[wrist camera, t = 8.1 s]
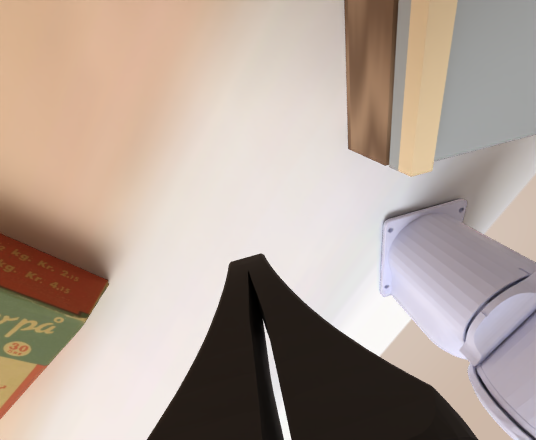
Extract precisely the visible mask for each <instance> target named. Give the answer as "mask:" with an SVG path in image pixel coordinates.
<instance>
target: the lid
mask: <svg viewBox="0 0 536 440" xmlns="http://www.w3.org/2000/svg"><path fill="white" fill-rule="evenodd" d="M532 135H536V0H399V3H398V21H397V38H396V55H395V73H394V90H393V107H392V125H391V142H390V159H389V167H390V168H393V169H395V170H397V171H399V172H401V173H404V174H406V175H408V176H410V177H412V176H416V175H419V174H423V173H427V172H430V171H432V170H433V163H434V161H438V160H442V159H445V158H449V157H453V156H457V155H460V154H464V153H468V152H472V151H476V150H479V149H483V148H487V147H491V146H494V145H498V144H502V143H506V142H510V141H513V140H517V139H521V138H525V137H528V136H532Z"/></svg>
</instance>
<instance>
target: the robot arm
mask: <svg viewBox="0 0 536 440" xmlns="http://www.w3.org/2000/svg"><path fill="white" fill-rule="evenodd" d="M466 206H467V201H466V200H464V199H458V200H454V201H451V202H447V203H443V204H440V205H436V206H433V207H429V208H426V209H422V210H419V211H415V212H411V213H408V214H404V215H401V216H397V217H394V218H390V219H388V220H386V221H385V222H384V225H383V244H382V263H381V282H380V294H381V295H382V296H383V297H386V296H389V295H392V296H393V298H394V299H395V300H396V301H397V302H398V303H399V304H400V306H401V307H402V308H403V309H404V310H405V311H406V312H407V314H408V315H409V316H410V317H411V318H412V319H413V321H414V322H415V323H416V324H417V325H418V326H419V327H420V328H421V330H422V331H423V332H424V333H425V334H426V335H427V337H428V338H429V339H430V340H431V341H432V342H433V343H434V344H436V345H437V346H438V347H440V348H441V349H443V350H444V351H446V352H448V353H450V354H452V355H454V356H456V357H459V358H462V359H466V360H468V361H469V362H470V363H471V364H470V365H469V367H468V376H469V379H470V382H471V384H472V386H473V389H474V391H475V393H476V395H477V397H478V399H479V400H480V402H481V403H482V405H483V406H484V408H485V409H486V410H487V412H488V413H489V414H490V415H491V417H492V418H493V419H494V420H495V421H496V422H497V423H498V425H499V426H500V427H501V428H502V429H503V430H504V431H505V432H506V433H507V434H508V435H510V437H511V438H512V439H514V440H536V262H534V261H532V260H530V259H528V258H527V257H525V256H523V255H521V254H519V253H517V252H515V251H514V250H512V249H510V248H508V247H506V246H504V245H502V244H500V243H499V242H497V241H495V240H493V239H491V238H490V237H488V236H486V235H484V234H482V233H480V232H478V231H477V230H475V229H473V228H471V227H469V226H467V225H465V224H464V223H463V219H464V215H465V211H466ZM389 228H390V230H389ZM263 321H264V324H265V327H266V330H267V332H268V335H269V338H270V342H271V346H272V351H273V355H274V360H275V364H276V369H277V374H278V378H279V383H280V387H281V392H282V397H283V401H284V406H285V411H286V416H287V420H288V425H289V430H290V435H291V439H292V440H478V439H477V437H476V436H475V435H474V433H473V432H472V431H471V429H470V428H469V427H468V425H467V424H466V423H465V422H464V420H463V419H462V418H461V417H460V416H459V414H458V413H457V412H456V411H455V410H454V409H453V408H452V407H451V406H450V404H449V403H448V402H447V401H446V400H445V399H444V398H443V397H442V396H441V395H440V394H439V393H438V392H437V391H436V390H435V389H434V388H433V387H432V386H431V385H429V384H427V383H425V382H423V381H421V380H419V379H418V378H416V377H414V376H412V375H410V374H408V373H406V372H405V371H403V370H401V369H399V368H398V367H396V366H394V365H392V364H390V363H389V362H387V361H385V360H384V359H382V358H381V357H379V356H377V355H376V354H374V353H372V352H371V351H369V350H367V349H366V348H364V347H363V346H361V345H360V344H358V343H357V342H355V341H354V340H352V339H351V338H349V337H348V336H346V335H345V334H344V333H342V332H341V331H339V330H338V329H336V328H335V327H334V326H332V325H331V324H330V323H328V322H327V321H326V320H324V319H323V318H322V317H321V316H320V315H318V314H317V313H316V312H315V311H313V310H312V309H311V308H310V307H309V306H308V305H307V304H305V303H304V302H303V301H302V300H301V299H300V298H299V297H298V296H297V295H296V294H295V293H294V292H293V291H292V290H291V289H290V288H289V287H288V286H287V285H286V284H285V283H284V281H283V280H282V279H281V278H280V277H279V276H278V275H277V273H276V272H275V271H274V270H273V268H272V267H271V266H270V264H269V263H268V261H267V259H266V258H265V256H264V255H263V254H257V255H254V256H250V257H247V258H243V259H240V260H236V261H233V262H231V263H230V264H229V268H228V273H227V278H226V282H225V285H224V289H223V292H222V295H221V298H220V302H219V305H218V308H217V310H216V313H215V315H214V318H213V321H212V323H211V326H210V328H209V331H208V333H207V335H206V337H205V340H204V342H203V344H202V346H201V348H200V350H199V352H198V354H197V356H196V358H195V360H194V362H193V364H192V366H191V368H190V370H189V371H188V373H187V375H186V377H185V379H184V381H183V382H182V384H181V386H180V388H179V389H178V391H177V393H176V394H175V396H174V398H173V399H172V401H171V402H170V404H169V406H168V407H167V409H166V410H165V412H164V414H163V415H162V417H161V418H160V420H159V422H158V423H157V425H156V426H155V428H154V429H153V431H152V433H151V434H150V436H149V437H148V439H147V440H284V438H283V434H282V429H281V425H280V420H279V416H278V411H277V406H276V402H275V397H274V393H273V388H272V382H271V376H270V369H269V362H268V354H267V347H266V340H265V332H264V325H263Z"/></svg>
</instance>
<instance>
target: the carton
mask: <svg viewBox="0 0 536 440" xmlns="http://www.w3.org/2000/svg"><path fill="white" fill-rule="evenodd" d="M108 285H109V284H108V280H106V279H104V278H102V277H99V276H97V275H95V274H92V273H90V272H88V271H86V270H84V269H81V268H79V267H77V266H74V265H72V264H70V263H67V262H65V261H63V260H60V259H58V258H56V257H53V256H51V255H49V254H46V253H44V252H41V251H39V250H37V249H35V248H33V247H30V246H28V245H26V244H23V243H21V242H19V241H16V240H14V239H12V238H9V237H7V236H5V235H2V234H0V419H1V418H2V417H3V416H4V415H5V413H6V412H7V411H8V410H9V409H10V408H11V407H12V405H13V404H14V403H15V402H16V401H17V400H18V399H19V398H20V396H21V395H22V394H23V393H24V392H25V391H26V390H27V388H28V387H29V386H30V385H31V384H32V383H33V382H34V380H35V379H36V378H37V377H38V376H39V375H40V374H41V373H42V371H43V370H44V369H45V368H46V367H47V366H48V365H49V364H50V362H51V361H52V360H53V359H54V358H55V357H56V356H57V354H58V353H59V352H60V351H61V350H62V349H63V348H64V347H65V346H66V345H67V344H68V342H69V341H70V340H71V339H72V338H73V337H74V336H75V335H76V333H77V332H78V331H79V330H80V329H81V327H82V326H83V325H84V323H85V322H86V320H87V319H88V317H89V315H90V314H91V312H92V310H93V309H94V307H95V306H96V304H97V302H98V301H99V299H100V297H101V296H102V294H103V293H104V291H105V290H106V288H107V287H108Z"/></svg>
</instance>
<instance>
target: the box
mask: <svg viewBox="0 0 536 440" xmlns="http://www.w3.org/2000/svg"><path fill="white" fill-rule="evenodd" d="M398 3H399V0H345V39H346V77H347V115H348V149H350V150H352V151H354V152H356V153H359V154H361V155H363V156H365V157H367V158H370V159H372V160H374V161H376V162H378V163H381V164H383V165H385V166H386V165H389V159H390V142H391V125H392V107H393V90H394V73H395V55H396V38H397V21H398Z"/></svg>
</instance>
